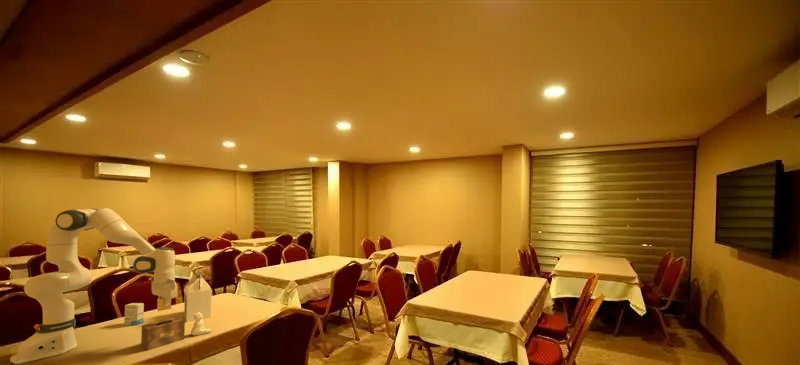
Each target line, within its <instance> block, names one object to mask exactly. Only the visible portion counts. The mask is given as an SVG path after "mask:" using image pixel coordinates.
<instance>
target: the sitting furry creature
mask: <svg viewBox="0 0 800 365" xmlns="http://www.w3.org/2000/svg"><path fill="white" fill-rule="evenodd" d="M193 317H194V319H195V320H194V323H193V326H192V328H191V331H190V333H191V335H192V336H195V337H198V336H203V335H207V334H208V335H209V334H211V333H212V329H211V328H205V322H204V320H203V319H202V318H203V316H202V314H201V313H200V312H197V313H196V314H193Z"/></svg>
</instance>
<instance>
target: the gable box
mask: <svg viewBox="0 0 800 365" xmlns="http://www.w3.org/2000/svg"><path fill="white" fill-rule="evenodd" d="M193 273H194V274H193V275H192V277H191V278H190V279H189V281H188V282H187V283H186V285H185V286H184V299H183V300H184V305H183V306H184V311H183V314H184V317H185V322H187V323H188V322H195V321H196V320H195V319H194V317H193V314H196V313H197V312H200V313H201V314H202V316H203V318H202V319H209V318H211V317H212V293H213V292H212V291H213V290H212V288H211V286H210V285H209V283H208V282H207V281H206V280H205V278H204V277H203V276H202V274H201V273H200V271H199V270H198V269H196V271H194V272H193Z"/></svg>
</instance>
